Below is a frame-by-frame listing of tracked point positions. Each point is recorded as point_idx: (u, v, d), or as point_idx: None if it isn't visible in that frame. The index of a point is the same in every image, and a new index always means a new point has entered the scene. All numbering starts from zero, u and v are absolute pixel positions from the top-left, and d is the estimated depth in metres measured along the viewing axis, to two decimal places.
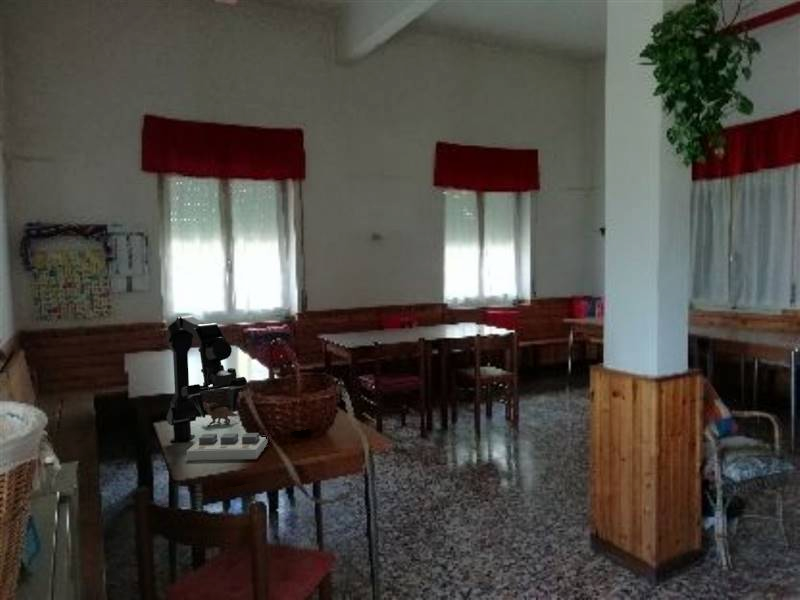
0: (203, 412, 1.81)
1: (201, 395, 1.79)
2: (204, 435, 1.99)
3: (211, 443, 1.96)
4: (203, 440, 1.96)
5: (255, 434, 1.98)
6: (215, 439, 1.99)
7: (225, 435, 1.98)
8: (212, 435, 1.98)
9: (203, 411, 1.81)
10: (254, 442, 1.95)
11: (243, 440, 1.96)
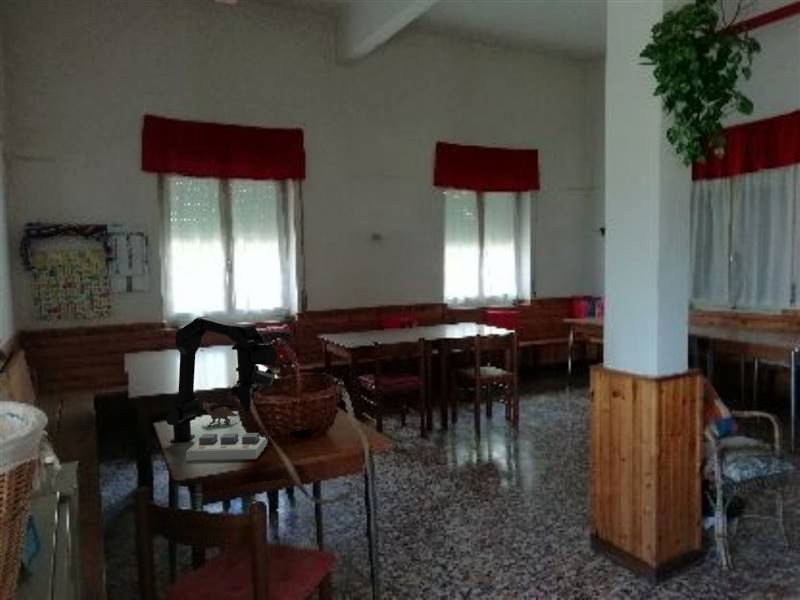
0: (249, 407, 1.95)
1: (254, 392, 1.94)
2: (204, 435, 1.99)
3: (211, 443, 1.96)
4: (203, 440, 1.96)
5: (255, 434, 1.98)
6: (215, 439, 1.99)
7: (225, 435, 1.98)
8: (212, 435, 1.98)
9: (250, 406, 1.95)
10: (254, 442, 1.95)
11: (243, 440, 1.96)
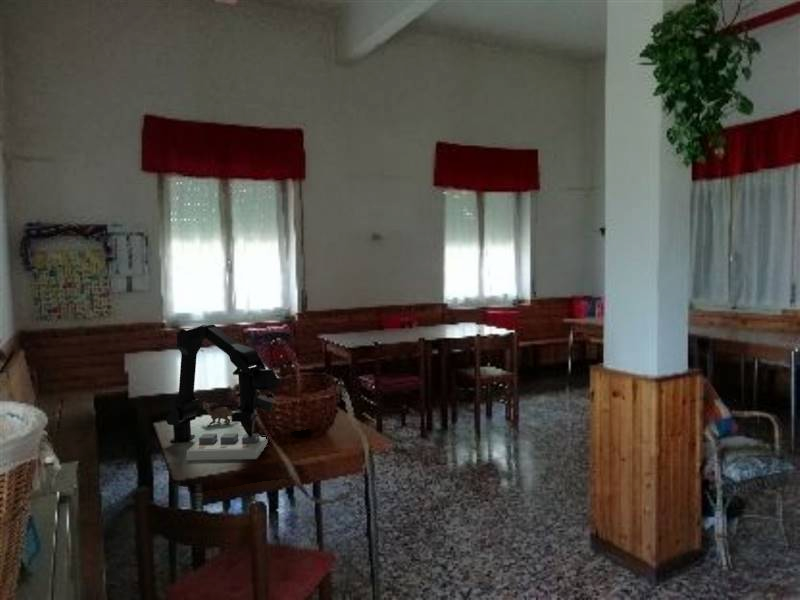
0: (252, 431, 1.97)
1: (256, 416, 1.96)
2: (204, 435, 1.99)
3: (211, 443, 1.96)
4: (203, 440, 1.96)
5: (255, 435, 1.98)
6: (215, 439, 1.99)
7: (225, 435, 1.98)
8: (212, 435, 1.98)
9: (252, 430, 1.97)
10: (254, 443, 1.95)
11: (243, 441, 1.96)
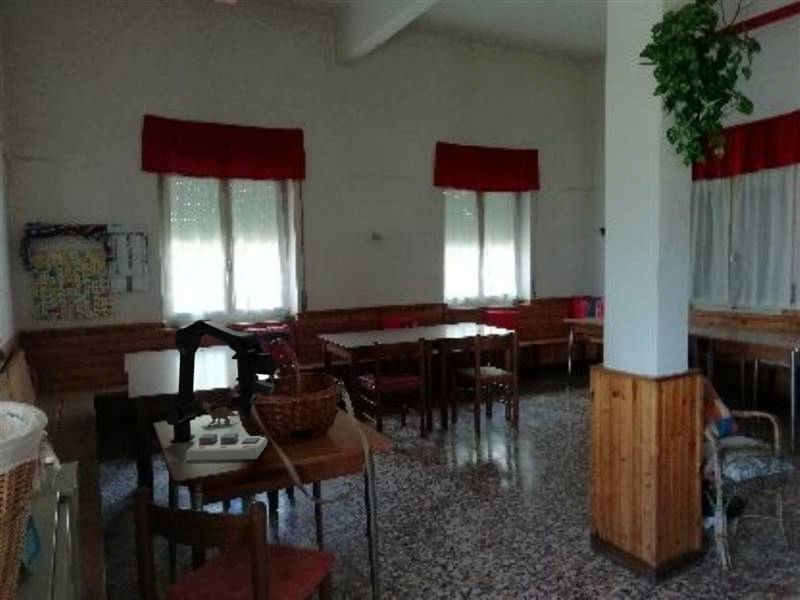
0: (250, 416, 1.97)
1: (255, 401, 1.96)
2: (204, 435, 1.99)
3: (211, 443, 1.96)
4: (203, 440, 1.96)
5: (255, 439, 1.98)
6: (215, 439, 1.99)
7: (225, 435, 1.98)
8: (212, 435, 1.98)
9: (251, 415, 1.97)
10: None
11: None
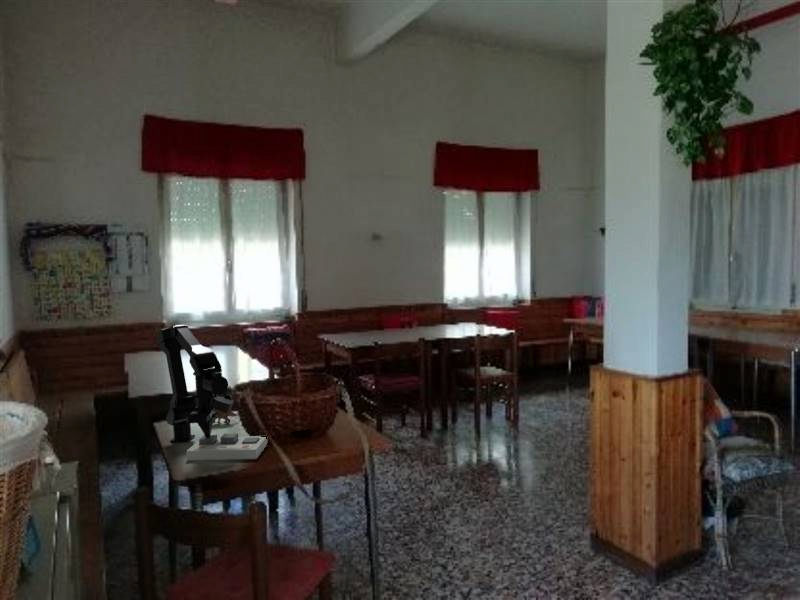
0: (209, 432, 1.97)
1: (214, 418, 1.96)
2: (204, 436, 1.99)
3: (211, 444, 1.96)
4: (203, 441, 1.96)
5: (255, 439, 1.98)
6: (215, 440, 1.99)
7: (225, 435, 1.98)
8: (212, 436, 1.98)
9: (209, 431, 1.97)
10: None
11: None
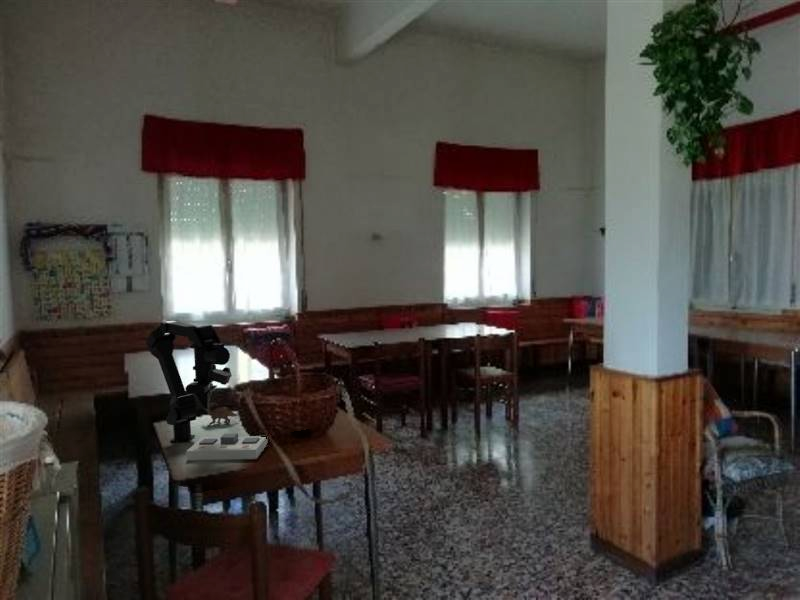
0: (207, 404, 2.02)
1: (212, 389, 2.01)
2: (204, 440, 1.99)
3: None
4: None
5: (255, 439, 1.98)
6: None
7: (225, 435, 1.98)
8: (212, 440, 1.98)
9: (207, 403, 2.02)
10: None
11: None
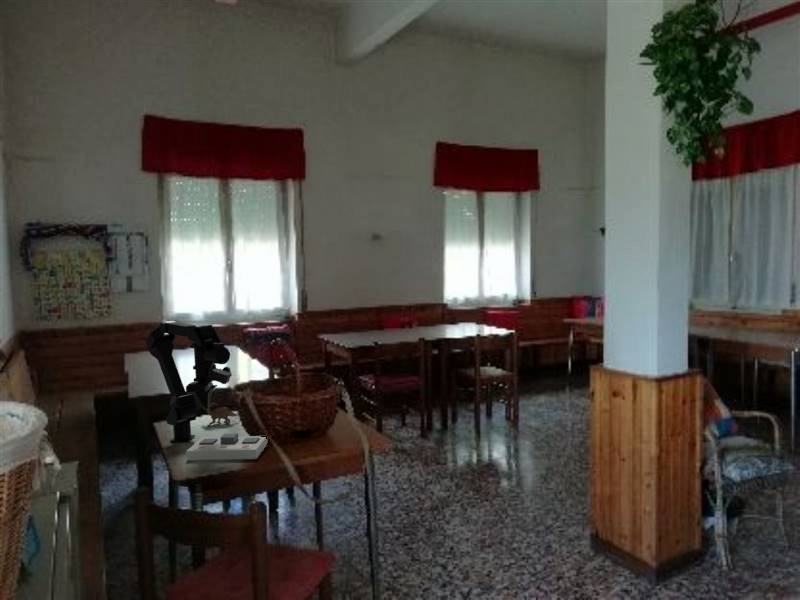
0: (208, 403, 2.02)
1: (212, 389, 2.01)
2: (204, 440, 1.99)
3: None
4: None
5: (255, 439, 1.98)
6: None
7: (225, 435, 1.98)
8: (212, 440, 1.98)
9: (208, 402, 2.02)
10: None
11: None
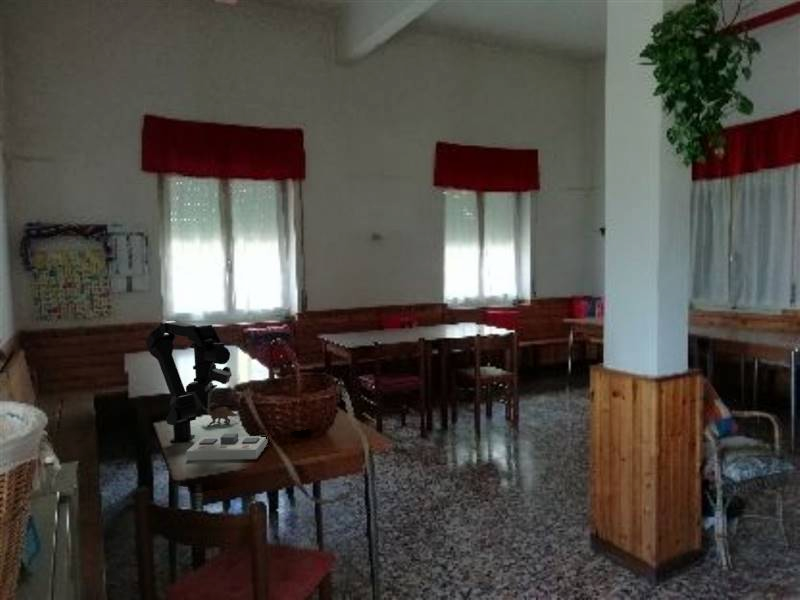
0: (208, 403, 2.02)
1: (212, 389, 2.01)
2: (204, 440, 1.99)
3: None
4: None
5: (255, 439, 1.98)
6: None
7: (225, 435, 1.98)
8: (212, 440, 1.98)
9: (208, 402, 2.02)
10: None
11: None
